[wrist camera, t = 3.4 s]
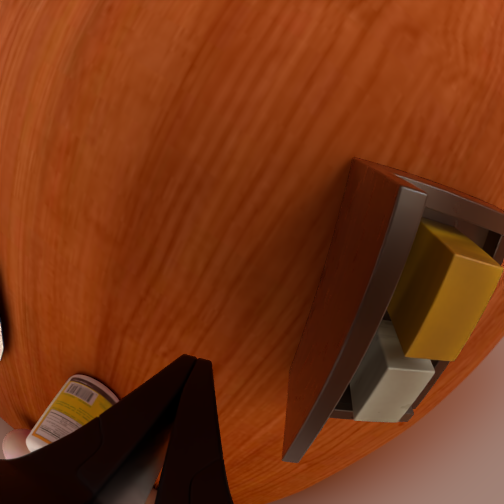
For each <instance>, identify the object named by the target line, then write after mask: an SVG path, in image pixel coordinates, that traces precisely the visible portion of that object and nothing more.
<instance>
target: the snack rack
mask: <svg viewBox="0 0 504 504" xmlns="http://www.w3.org/2000/svg"><path fill="white" fill-rule="evenodd" d="M503 259H504V211H503V210H501V209H499V208H498V207H496V206H494V205H491V204H489V203H487V202H484V201H482V200H480V199H477V198H475V197H472V196H470V195H467V194H465V193H462V192H460V191H457V190H455V189H452V188H450V187H447V186H444V185H441V184H439V183H436V182H433V181H430V180H427V179H425V178H422V177H419V176H416V175H413V174H410V173H407V172H404V171H400V170H397V169H394V168H391V167H388V166H384V165H381V164H377V163H374V162H370V161H367V160H363V159H360V158H356V157H353V160H352V164H351V168H350V173H349V177H348V181H347V185H346V189H345V193H344V197H343V201H342V205H341V209H340V213H339V217H338V220H337V224H336V228H335V231H334V235H333V239H332V242H331V246H330V249H329V253H328V256H327V260H326V263H325V266H324V270H323V273H322V276H321V280H320V283H319V286H318V289H317V293H316V296H315V299H314V302H313V305H312V308H311V311H310V314H309V317H308V320H307V323H306V326H305V329H304V332H303V335H302V338H301V341H300V344H299V346H298V349H297V352H296V355H295V358H294V360H293V363H292V366H291V369H290V371H289V382H288V397H287V409H286V420H285V431H284V442H283V452H282V461H286V462H294V463H298V462H299V461H300V460H301V458H302V457H303V455H304V454H305V453H306V451H307V450H308V448H309V447H310V445H311V444H312V443H313V441H314V440H315V438H316V437H317V435H318V434H319V432H320V431H321V429H322V428H323V426H324V424H325V423H326V421H327V420H328V418H329V417H330V418H340V419H352V420H355V421H372V422H407V421H409V419H410V418H411V417H412V416H413V415H414V412H413V409H416V407H417V406H418V405H419V404H420V402H421V401H422V400H423V398H424V397H425V396H426V394H427V393H428V392H429V390H430V389H431V388H432V386H433V385H434V384H435V382H436V381H437V379H438V378H439V377H440V375H441V374H442V372H443V371H444V369H445V368H446V366H447V365H448V363H449V362H450V361H455V359H456V358H457V356H458V355H459V353H460V351H461V350H462V348H463V347H464V345H465V343H466V342H467V340H468V338H469V337H470V335H471V333H472V332H473V330H474V328H475V326H476V325H477V323H478V321H479V319H480V317H481V315H482V314H483V312H484V310H485V308H486V306H487V304H488V302H489V300H490V298H491V296H492V294H493V292H494V290H495V288H496V286H497V283H498V281H499V279H500V277H501V274H502V272H503V267H502V266H501V264H502V262H503Z"/></svg>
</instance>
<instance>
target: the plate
mask: <svg viewBox="0 0 504 504" xmlns="http://www.w3.org/2000/svg"><path fill="white" fill-rule="evenodd" d="M3 351H4V339H3V330H2V322H1V318H0V360H1V359H2V354H3Z"/></svg>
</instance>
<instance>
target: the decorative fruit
mask: <svg viewBox="0 0 504 504" xmlns="http://www.w3.org/2000/svg"><path fill="white" fill-rule="evenodd" d="M30 432H31V430H28V429H15V430H12V431H10V432H9V433H8V434H7V435H6V437H5V438H4V440H3V453H4V456H5V458H6V459H13V458H18V457H21V456H24V455H26V454H28V453H31V452H30V451H29V449H28V447H27V445H26V438H27V437H28V435H29V433H30Z"/></svg>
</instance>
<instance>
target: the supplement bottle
mask: <svg viewBox="0 0 504 504" xmlns="http://www.w3.org/2000/svg"><path fill="white" fill-rule="evenodd" d="M118 401H119V399H118V398H117V397H116V396H115V394H114V393H113V392H112V391H111V390H109V389H108V388H107V387H106V386H105V385H103V384H102V383H100V382H99V381H97V380H95V379H93V378H91V377H88V376H85V375H73V376H71V377H70V378H69V379H68V380H67V382H66V383H65V384H64V386H63V387H62V388H61V390H60V391H59V392H58V394H57V395H56V396H55V398H54V399H53V401H52V402H51V403H50V405H49V406H48V408H47V409H46V410H45V412H44V413H43V415H42V416H41V418H40V419H39V420H38V422H37V423H36V425H35V426H34V428H33V429H32V430H31V432H30V433H29V435H28V437H27V438H26V445H27V447H28V449H29V451H30V452H33V451H35V450H37V449H39V448H42V447H44V446H46V445H48V444H50V443H52V442H54V441H56V440H58V439H60V438H62V437H64V436H66V435H68V434H70V433H72V432H74V431H75V430H77V429H78V428H80V427H82V426H83V425H85V424H86V423H88V422H89V421H91V420H92V419H94V418H95V417H99V415H100V414H101V413H103V412H104V411H105V410H107V409H108V408H110V407H111V406H113V405H114V404H115V403H117V402H118Z"/></svg>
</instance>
